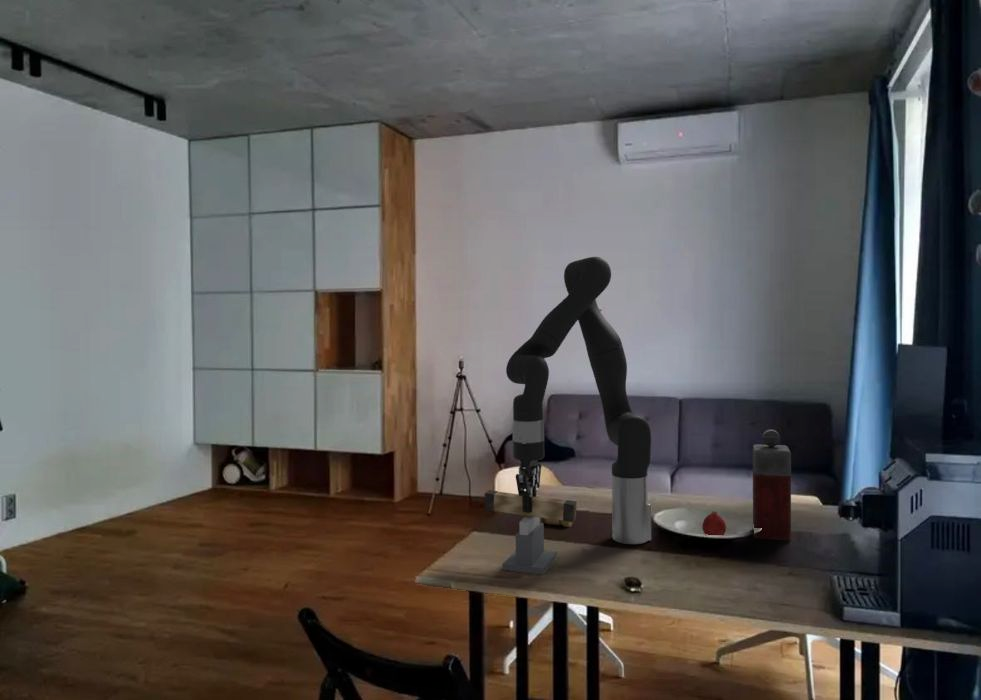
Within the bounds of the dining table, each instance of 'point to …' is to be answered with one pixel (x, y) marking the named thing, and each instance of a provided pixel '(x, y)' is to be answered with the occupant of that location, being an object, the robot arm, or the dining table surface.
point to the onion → (714, 524)
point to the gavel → (556, 522)
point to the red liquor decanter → (772, 488)
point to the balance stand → (530, 549)
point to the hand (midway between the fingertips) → (529, 509)
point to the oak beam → (540, 506)
